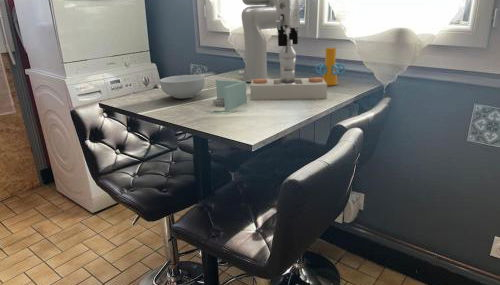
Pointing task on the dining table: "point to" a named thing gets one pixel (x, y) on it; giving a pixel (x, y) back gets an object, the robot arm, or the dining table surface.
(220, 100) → the right angle wall
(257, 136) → the dining table surface
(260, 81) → the chicken egg
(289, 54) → the gray metal bottle
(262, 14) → the robot arm
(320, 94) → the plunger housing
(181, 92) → the cereal bowl
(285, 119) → the dining table surface
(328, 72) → the orange post blue wheels
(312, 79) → the brown egg
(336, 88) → the dining table surface
